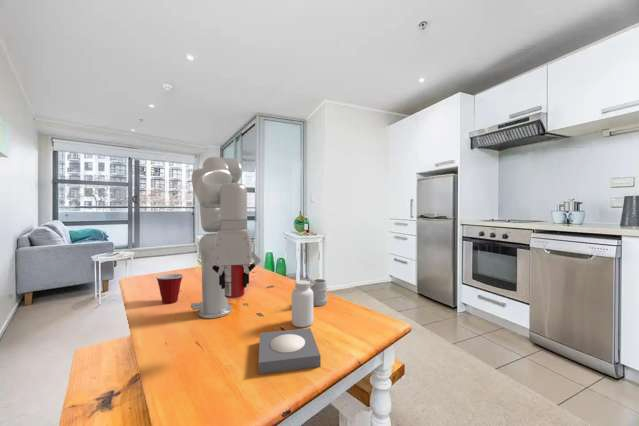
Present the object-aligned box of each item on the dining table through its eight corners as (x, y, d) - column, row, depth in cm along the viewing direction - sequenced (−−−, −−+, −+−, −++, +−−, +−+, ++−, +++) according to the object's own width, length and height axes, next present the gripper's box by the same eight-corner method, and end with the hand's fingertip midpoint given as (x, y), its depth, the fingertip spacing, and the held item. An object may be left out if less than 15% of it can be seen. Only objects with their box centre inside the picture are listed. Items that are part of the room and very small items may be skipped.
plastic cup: (189, 298, 123) (189, 272, 123) (172, 306, 112) (172, 278, 112) (168, 296, 125) (168, 271, 125) (150, 305, 114) (149, 277, 114)
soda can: (247, 294, 80) (247, 254, 80) (238, 300, 75) (238, 258, 74) (231, 292, 81) (230, 254, 81) (220, 299, 76) (220, 257, 75)
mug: (331, 303, 116) (331, 276, 115) (310, 310, 108) (310, 281, 107) (319, 298, 121) (319, 272, 121) (299, 305, 113) (299, 277, 113)
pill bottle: (316, 319, 99) (316, 280, 98) (308, 329, 91) (308, 286, 91) (297, 317, 101) (296, 278, 101) (287, 326, 94) (287, 284, 93)
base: (258, 374, 67) (258, 361, 67) (259, 342, 83) (259, 332, 82) (320, 366, 70) (320, 354, 70) (310, 337, 86) (310, 327, 86)
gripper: (199, 227, 72) (200, 293, 73) (263, 226, 75) (264, 289, 76) (205, 225, 79) (206, 284, 80) (263, 224, 83) (264, 281, 83)
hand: (234, 286), depth 78 cm, fingers closed on soda can, 5 cm apart
